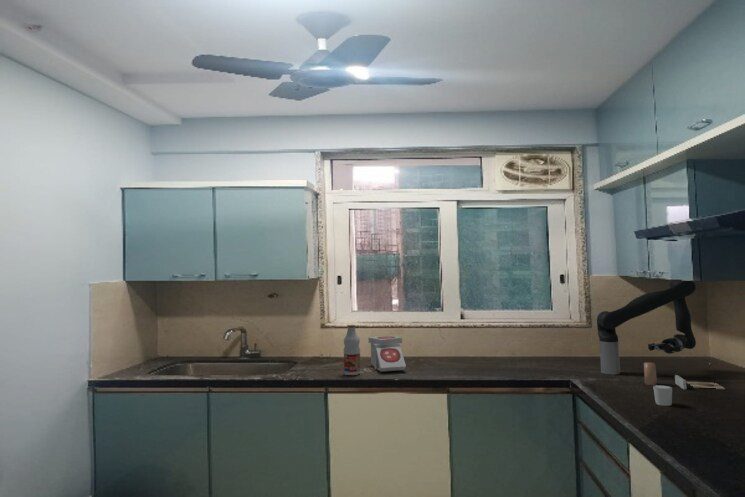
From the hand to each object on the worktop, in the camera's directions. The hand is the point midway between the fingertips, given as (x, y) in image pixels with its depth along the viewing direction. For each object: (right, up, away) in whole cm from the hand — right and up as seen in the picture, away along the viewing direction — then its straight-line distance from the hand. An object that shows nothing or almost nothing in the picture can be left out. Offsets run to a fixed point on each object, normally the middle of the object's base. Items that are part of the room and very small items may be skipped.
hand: (659, 349), depth 240 cm
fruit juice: (-156, -22, +33) cm, 161 cm away
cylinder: (-9, -15, -8) cm, 19 cm away
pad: (+13, -14, -14) cm, 24 cm away
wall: (+2, -15, -14) cm, 20 cm away
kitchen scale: (-135, -22, +46) cm, 145 cm away
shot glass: (-23, -14, -42) cm, 50 cm away
